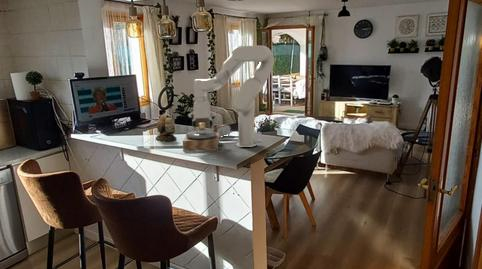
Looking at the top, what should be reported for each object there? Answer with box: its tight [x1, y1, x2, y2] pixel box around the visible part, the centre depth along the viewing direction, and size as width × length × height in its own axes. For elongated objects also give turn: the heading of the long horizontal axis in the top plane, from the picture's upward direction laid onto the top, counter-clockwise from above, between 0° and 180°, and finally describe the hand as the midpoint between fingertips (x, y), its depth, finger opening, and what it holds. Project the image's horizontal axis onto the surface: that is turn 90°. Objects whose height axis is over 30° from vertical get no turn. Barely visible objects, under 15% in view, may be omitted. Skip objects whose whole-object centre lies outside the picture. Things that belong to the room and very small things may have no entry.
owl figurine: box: [155, 113, 178, 143], centre depth 228 cm, size 18×12×17 cm, turn 47°
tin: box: [213, 123, 232, 137], centre depth 233 cm, size 15×3×8 cm, turn 141°
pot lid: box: [185, 122, 217, 139], centre depth 208 cm, size 18×18×6 cm
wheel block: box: [182, 133, 220, 152], centre depth 210 cm, size 20×20×6 cm
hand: (203, 127), depth 215 cm, fingers open, 9 cm apart
